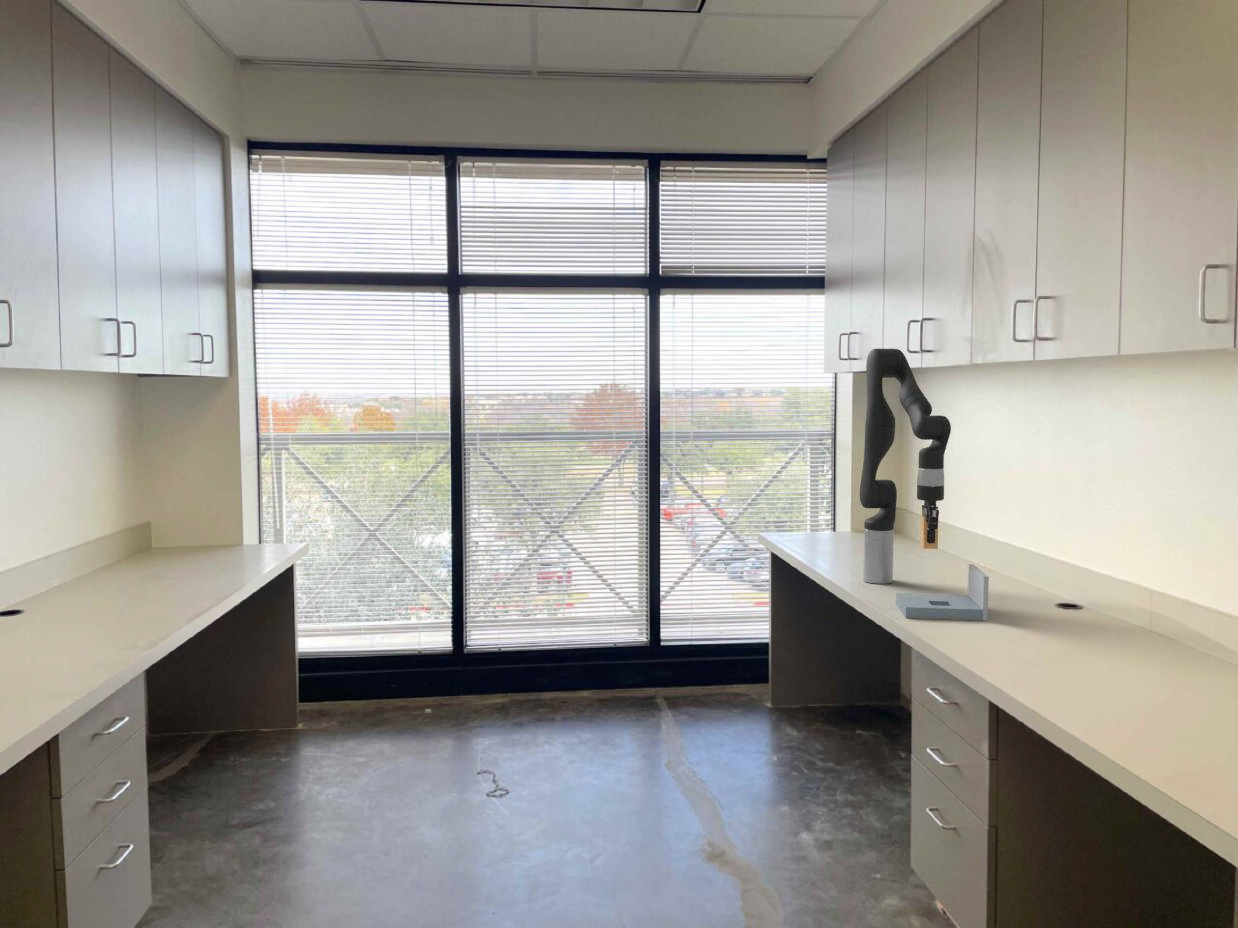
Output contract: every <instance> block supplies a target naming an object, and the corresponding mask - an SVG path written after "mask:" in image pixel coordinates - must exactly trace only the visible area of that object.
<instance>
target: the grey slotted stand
mask: <svg viewBox="0 0 1238 928" xmlns="http://www.w3.org/2000/svg"><path fill="white" fill-rule="evenodd" d="M967 572H968V575H967V576H968V579H967V582H968V583H967V594H950V593H949V594H946V593H944V594H943V593H942V594H940V593H908V592H895V604H896V605H897V607H898V609H899V610H900V612H901V613H902V614H903V616H904V618H905V619H920V620H921V619H922V620H923V619H924V620H925V619H926V620H953V621H954V620H955V621H956V620H957V621H982V622H983V621H986V622H988V616H989V613H988V610H989V583H990V582H989V580H990V579H989V578H990V577H989V575H987V574H986V573H985V572H984V571H982V570H981V569H980V568H979V567H977V566H976V565H975V564H973V563H968V571H967Z"/></svg>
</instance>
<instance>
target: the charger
mask: <svg viewBox="0 0 1238 928" xmlns="http://www.w3.org/2000/svg"><path fill="white" fill-rule="evenodd" d="M928 519H929V518H928ZM920 525H921V533H920V534H921V537H920V540H921V542H920V547H921V548H922V549H927V550H928V549H929V550H930V549H931V550H932V549H933V550H934V549H935V550H938V548H939V527H938V528H937V529H936V530H935V543H928V542H927V522H925V517H923V516H922V515H921V524H920ZM931 525H934V523H933V522H931Z"/></svg>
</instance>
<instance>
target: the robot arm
mask: <svg viewBox="0 0 1238 928" xmlns="http://www.w3.org/2000/svg"><path fill="white" fill-rule="evenodd" d="M866 358H867V359H866V366H865V367H866V371H865V372H866V413H865V425H864V447H863V448H864V449H863V450H864V451H863V463H862V469H861V470H862V471H861V477H860V478H861V479H860V486H859V502H860V505H861V506H862V507H863V508H864V509H879V511H878V512H876V514H874V515H873V516H871V517H868V518H866V519H865V520H864V524H863V525H864V531H863V532H864V533H863V538H864V539H863V542H864V543H863V577H862V578H863V582H865V583H868V584H869V583H870V584H877V585H878V584H879V585H881V584H883V585H884V584H885V585H886V584H891V583H894V581H893V580H894V541H895V540H894V536H895V535H894V532H895V531H894V530H895V522H896V513H897V511H896V510H897V501H898V500H897V499H898V493H897V492H898V490H897V486H896V484H895V482H894V481H893V480H891V479H876V478H877V473H878V470H879V466H880V465H881V462H882V460H884V458H885V457H886V455H887V454H888V452H889V450H890V449H891V448H892V446H893V444H894V441H895V434H896V417H895V415H894V413H893V411H892V408H891V406H890V405H889V403H888V401H887V399H886V398H885V395H884V388H883V379H892V378H894V379H896V380H897V382H898V383H900V389H899V395H898V398H899V402H900V405H901V406H902V408H903V409H904V411H905V413H907V415H908V417H909V421H910V425H911V430H912V434H913V435H914V436H915V437H916V438H917V439H919V440H923V441H928V440H929V441H930V440H932V441H931V442H930V443H931V444H930V445H929V446H926V447H924V448H921V449H920V450H919V451H918V466H917V467H918V470H917V476H916V477H917V479H916V483H917V484H916V498H917V499H916V500H919V501H924V502H923V504H921V517H922V516H923V517H925V522H927V542H928V543H935V530H936V529H937V528H938V529H939V514H940V510H939V507H938V506H937V502H939V501H944V499H945V471H944V469H945V467H944V466H945V451H946V449H947V446H948V443H949V439H950V435H951V430H952V425H951V422H950V419H949V418H948V417H947V416H945V415H931V414H932V411H933V406H932V404H931V403H930V401H929V400H928V398H927V397H926V396H925V394H924V393H923V392H922V390H921V388H920V386H919V385H918V383H917V380H916V379H915V376H914V373H913V370H912V369H911V366H910V364H909V361H908V359H907V357H906V355H905V353H903V351H901V350H900V349H898V348H872V349H871V350H870V351H869V352H868V354H867V357H866ZM928 518H929V519H928ZM931 522H933V523H934V525H931Z"/></svg>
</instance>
